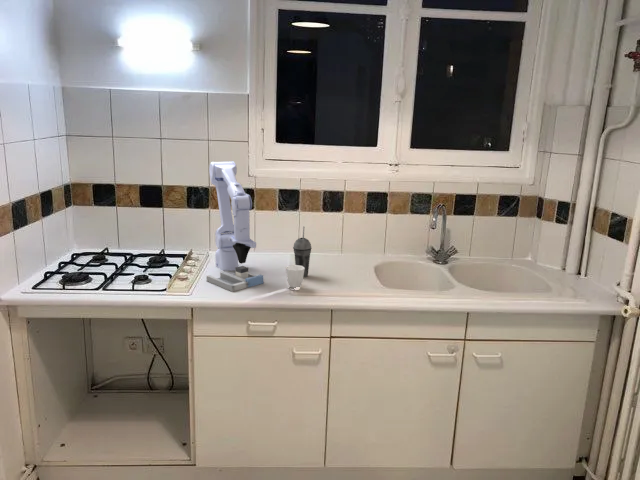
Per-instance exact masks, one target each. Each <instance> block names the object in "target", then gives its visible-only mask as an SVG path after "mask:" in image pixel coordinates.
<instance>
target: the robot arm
mask: <svg viewBox="0 0 640 480" xmlns="http://www.w3.org/2000/svg"><path fill="white" fill-rule="evenodd" d="M208 172H209V178H210V180H209V181H210V183H211V184H212V185H214V186H215V190H216V196H217V203H218V210H219V217H220V226H219V227H218V228H216V230H215V246H216V248H217V249H216V251H215V255H214V256H215V257H214V259H215V267H216V268H219V269H220V270H221V271H225V272H228V271H230V272H231V271H235V269H236V267H239V264H245V263H246V262H247V258H248V256H249V255H248V254H249V252H250V250H251V249H255V248H257V242H256V241H254V240H253V239H251V238H250V237H251V235H250V233H251V231H250V228H251V227H250V226H251V225H250V222H251V221H250V211H252V209H253V208H252V207H253V202H252V197H251V195H250V194H248V193H246V191H245V190H244V187H243V186H242V184H241V182H238V181H237V178H236V175H237V172H238V168H237V164H236V162H235V161H233V160H232V161H211V162H210V163H209V170H208Z"/></svg>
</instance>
